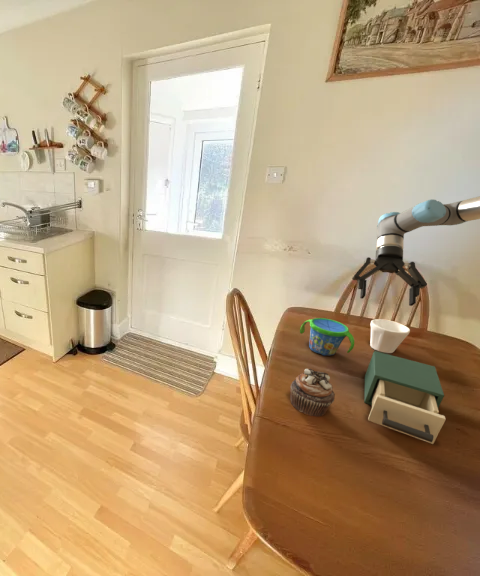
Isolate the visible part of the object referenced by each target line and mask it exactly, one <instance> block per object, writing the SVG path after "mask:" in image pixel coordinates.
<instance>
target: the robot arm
mask: <svg viewBox="0 0 480 576" xmlns="http://www.w3.org/2000/svg"><path fill="white" fill-rule="evenodd" d="M476 220H480V196H476V197H472V198H466V199H463V200H459V201H455V202H450V203H442V202H441V201H440V200H437V199H428V200H425V201H422V202H420V203H417V204H416V205H414V206H412V207H410V208H408V209H406V210H404V211H402V212H398V211H391V212H386V213H383V214H382V215H381V216H379V218H378V221H377V226H376V244H375V245H376V246H375V247H376V248H375V259H374V258H373V259H372V258H371V257H366V258H365V260H364V261H363V265H362V266H361V267H360V268H359V269H358V270H357V271H356V272H355V274H354V275H353V276H352V278H351V279H352V280H353V281H356V282H357V289H358V290H360V294H359V295H360V296H359V297H360V298H359V299H364V298H365V297H366V295H367V294H366V293H367V281H368V280H367V279H368V278H371V276H373V275H375V274H376V273H378V272H379V271H380V272H381V273H389V274H395V275H396V276H398V277H400V279H402V280H403V281H404V282H405V283H406V284H407V285H408V286H409V287H410V288H409V289H408V290H409V291H408V294H409V295H408V306H410V307H413V306H414V305H415V304H416V303H417V297H419V296H420V290H422V289H424V288H426V287H427V286H428V283H427V281H426V280H425V278H424V277H423V276H422V274H421V273H420V271H419V270H418V269H417V266H416V262H415V261H410V262H404V238H405V234H407V233H410V232H412V231H415V230H418V229H420V228H422V227H423V228H424V227H437V226H457V225H461V224H464V223H466V222H470V221H476ZM372 264H373V265H374V266H375V267H374V268H372V269H370V270H369V271H367V272H365V274H362V273H363V272H364V271H365V270H366V269H367V267H368V266H371V265H372ZM406 270H407V271H406ZM361 274H362V275H361Z"/></svg>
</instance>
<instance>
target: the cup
mask: <svg viewBox="0 0 480 576" xmlns="http://www.w3.org/2000/svg"><path fill="white" fill-rule="evenodd" d="M369 325H370V341H369V343H370V344H369V347H370V348H371V350H373V351H377V352H381V353H385V354H389V355H392V354H393V353H394V352H395V351H396V350H397V349H398V348H399V346H400V345H401V344H402V343H403V341H404V340H405V339H406V338H407V337H408V336H409V335H410V332H411V329H410V328H409V327H408V326H406V325H404V324H402V323H401V322H398V321H393V320H390V319H385V318H384V319H383V318H375V319H372V320H371V321H370V324H369Z"/></svg>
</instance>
